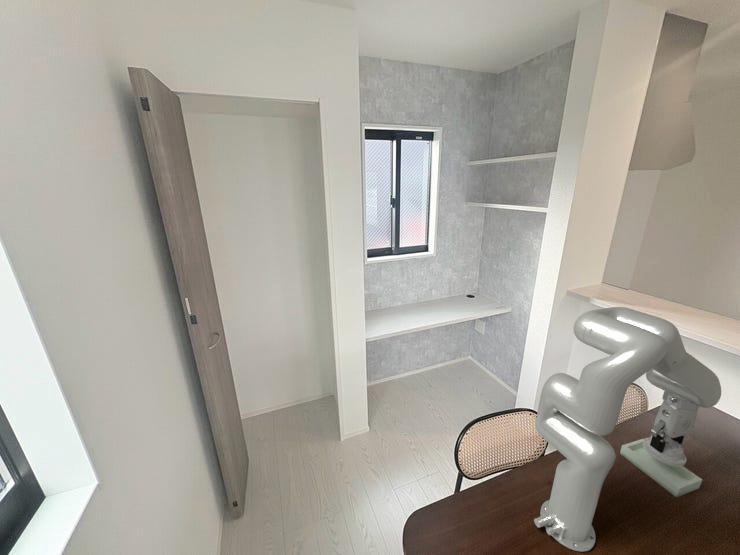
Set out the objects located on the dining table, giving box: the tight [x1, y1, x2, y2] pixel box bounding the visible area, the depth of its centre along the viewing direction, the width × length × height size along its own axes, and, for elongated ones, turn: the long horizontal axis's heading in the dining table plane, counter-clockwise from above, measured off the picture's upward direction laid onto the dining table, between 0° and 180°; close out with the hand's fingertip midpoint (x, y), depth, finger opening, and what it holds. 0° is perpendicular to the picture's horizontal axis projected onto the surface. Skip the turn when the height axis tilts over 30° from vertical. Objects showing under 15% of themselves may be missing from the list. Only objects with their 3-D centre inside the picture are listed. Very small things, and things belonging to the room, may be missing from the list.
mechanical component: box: [643, 433, 688, 467], centre depth 93 cm, size 10×4×10 cm
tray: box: [619, 438, 703, 498], centre depth 96 cm, size 10×16×4 cm, turn 15°
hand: (665, 445), depth 93 cm, fingers closed on mechanical component, 7 cm apart
